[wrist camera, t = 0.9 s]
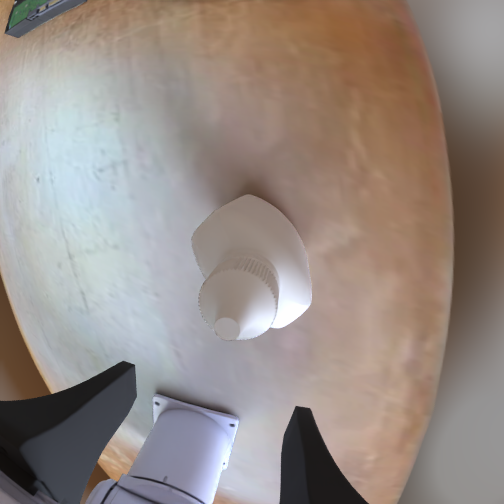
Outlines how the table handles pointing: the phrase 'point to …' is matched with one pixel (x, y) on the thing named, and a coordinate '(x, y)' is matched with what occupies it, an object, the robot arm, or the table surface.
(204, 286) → the eye dropper bottle
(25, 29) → the disk drive
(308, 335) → the table surface
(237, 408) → the table surface
